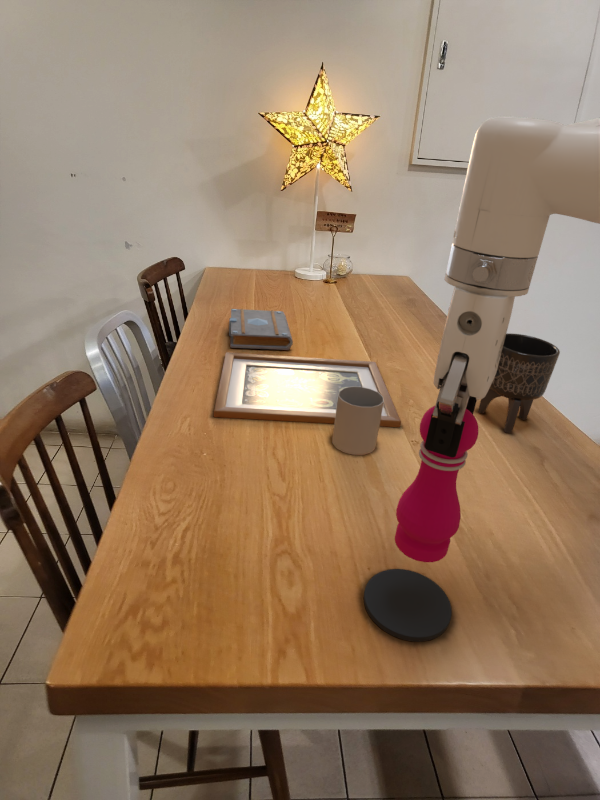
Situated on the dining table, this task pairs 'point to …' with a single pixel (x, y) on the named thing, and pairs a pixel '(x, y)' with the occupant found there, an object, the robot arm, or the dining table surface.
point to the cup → (357, 420)
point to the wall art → (294, 388)
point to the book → (259, 329)
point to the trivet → (407, 605)
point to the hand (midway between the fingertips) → (447, 436)
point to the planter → (521, 375)
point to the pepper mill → (433, 497)
